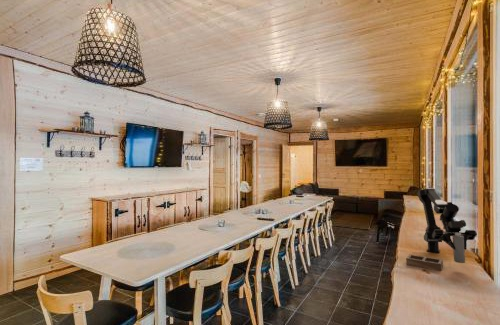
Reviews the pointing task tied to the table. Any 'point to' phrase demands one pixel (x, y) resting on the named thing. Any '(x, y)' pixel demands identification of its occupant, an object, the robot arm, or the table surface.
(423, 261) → the box
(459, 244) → the slate plug
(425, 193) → the robot arm
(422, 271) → the table surface
